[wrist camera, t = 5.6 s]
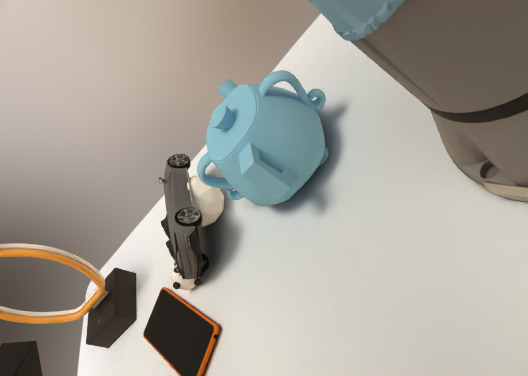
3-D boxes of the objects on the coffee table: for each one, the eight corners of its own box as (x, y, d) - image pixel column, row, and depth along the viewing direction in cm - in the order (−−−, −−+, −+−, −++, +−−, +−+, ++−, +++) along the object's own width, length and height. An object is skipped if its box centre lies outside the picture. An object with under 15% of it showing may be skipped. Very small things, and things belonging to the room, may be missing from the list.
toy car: (218, 200, 72) (164, 210, 71) (211, 136, 64) (149, 146, 62) (242, 290, 59) (176, 304, 58) (236, 224, 51) (159, 239, 49)
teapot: (381, 154, 43) (296, 95, 36) (273, 263, 49) (183, 229, 42) (312, 67, 58) (242, 13, 51) (235, 158, 64) (164, 121, 57)
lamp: (96, 360, 74) (-144, 322, 56) (99, 313, 80) (-116, 266, 62) (150, 305, 67) (-105, 242, 49) (148, 259, 73) (-78, 188, 55)
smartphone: (166, 287, 65) (161, 285, 65) (223, 327, 51) (217, 325, 51) (145, 337, 64) (140, 336, 63) (198, 392, 50) (191, 391, 50)
